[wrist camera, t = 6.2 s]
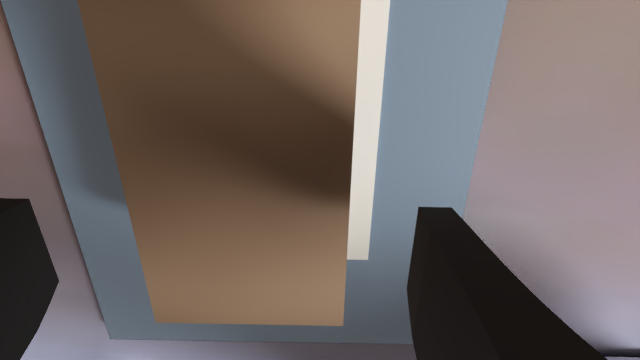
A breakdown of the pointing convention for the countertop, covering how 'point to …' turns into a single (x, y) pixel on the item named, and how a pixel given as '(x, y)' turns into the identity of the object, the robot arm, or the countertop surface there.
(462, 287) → the robot arm
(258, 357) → the countertop surface
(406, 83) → the plan board
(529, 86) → the countertop surface
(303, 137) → the walnut brick
